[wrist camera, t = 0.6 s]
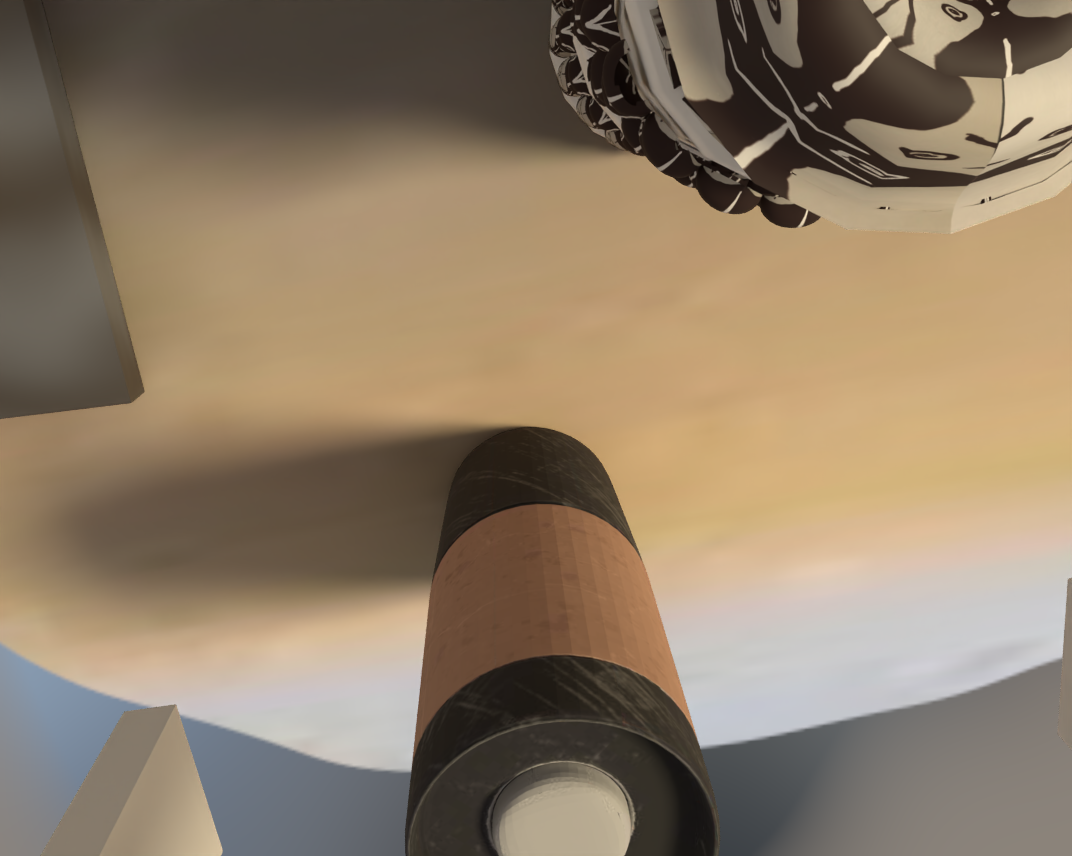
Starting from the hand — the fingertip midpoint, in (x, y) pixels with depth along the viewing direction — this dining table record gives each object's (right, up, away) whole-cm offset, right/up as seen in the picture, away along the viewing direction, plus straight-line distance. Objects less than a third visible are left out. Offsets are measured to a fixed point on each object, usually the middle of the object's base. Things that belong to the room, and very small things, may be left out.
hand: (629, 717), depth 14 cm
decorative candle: (+3, +19, +21) cm, 28 cm away
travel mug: (-2, +1, +27) cm, 27 cm away
